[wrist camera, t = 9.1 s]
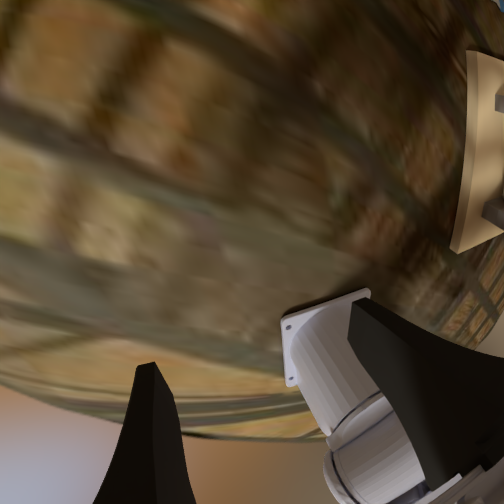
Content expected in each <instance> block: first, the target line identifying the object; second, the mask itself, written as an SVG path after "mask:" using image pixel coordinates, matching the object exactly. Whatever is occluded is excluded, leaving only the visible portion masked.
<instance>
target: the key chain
mask: <svg viewBox="0 0 504 504" xmlns="http://www.w3.org/2000/svg"><path fill="white" fill-rule="evenodd" d="M493 1H494V2H496V3H497V5H498V7H499V9H500V10H501V12H504V2H503V0H493Z"/></svg>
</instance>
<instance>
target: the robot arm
mask: <svg viewBox="0 0 504 504" xmlns="http://www.w3.org/2000/svg"><path fill="white" fill-rule="evenodd" d="M370 296H371V291H370V290H369V289H368V288H364V289H361V290H358V291H356V292H353V293H350V294H347V295H345V296H342V297H339V298H336V299H333V300H331V301H328V302H325V303H322V304H319V305H316V306H313V307H310V308H307V309H304V310H301V311H298V312H295V313H292V314H289V315H286V316H284V317H283V318H282V319H281V332H282V345H283V358H284V371H285V383H286V385H287V387H292V386H295V385H298V387H299V389H300V391H301V393H302V395H303V396H304V398H305V400H306V402H307V404H308V406H309V408H310V410H311V412H312V414H313V415H314V417H315V419H316V421H317V423H318V425H319V427H320V428H321V430H322V431H323V432H324V433H325V434H326V435H327V436H328V437H327V438H326V441H327V443H328V445H329V447H330V449H329V450H328V451H327V452H326V453H325V456H324V464H323V472H324V476H325V480H326V482H327V485H328V487H329V488H330V491H331V492H332V494H333V495H334V497H335V498H336V499H337V501H338V502H339V503H340V504H504V358H501V357H496V356H492V355H488V354H484V353H480V352H477V351H474V350H471V349H468V348H465V347H462V346H460V345H457V344H455V343H452V342H449V341H447V340H445V339H442V338H440V337H438V336H436V335H434V334H432V333H430V332H428V331H426V330H424V329H422V328H420V327H418V326H416V325H414V324H413V323H411V322H409V321H407V320H405V319H404V318H402V317H400V316H398V315H397V314H395V313H393V312H391V311H390V310H388V309H386V308H385V307H383V306H381V305H379V304H378V303H376V302H374V301H372V300H371V299H370ZM288 325H289V326H288ZM93 504H196V501H195V498H194V494H193V491H192V488H191V485H190V482H189V477H188V472H187V467H186V462H185V455H184V449H183V442H182V436H181V429H180V422H179V417H178V413H177V409H176V405H175V401H174V397H173V394H172V392H171V390H170V389H169V387H168V385H167V383H166V381H165V380H164V378H163V376H162V374H161V372H160V370H159V369H158V367H157V365H156V363H155V362H151V363H147V364H142V365H138V366H137V368H136V372H135V377H134V382H133V387H132V391H131V396H130V400H129V404H128V408H127V412H126V415H125V419H124V423H123V427H122V430H121V433H120V436H119V440H118V443H117V447H116V449H115V452H114V455H113V458H112V461H111V463H110V466H109V468H108V471H107V473H106V476H105V478H104V480H103V483H102V485H101V487H100V489H99V492H98V494H97V496H96V498H95V500H94V502H93Z"/></svg>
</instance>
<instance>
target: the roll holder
mask: <svg viewBox="0 0 504 504" xmlns="http://www.w3.org/2000/svg"><path fill="white" fill-rule="evenodd" d="M466 60H467V128H466V144H465V155H464V165H463V174H462V182H461V189H460V196H459V202H458V208H457V214H456V219H455V224H454V229H453V234H452V239H451V243H450V249H451V250H453V251H454V252H455V253H457V254H459V253H461V252H463V251H465V250H467V249H470V248H472V247H474V246H476V245H478V244H480V243H482V242H484V241H486V240H489V239H491V238H493V237H495V236H497V235H499V234H501V233H503V232H504V199H503V197H502V194H503V188H504V61H501V60H499V59H496V58H494V57H491V56H488V55H486V54H483V53H480V52H477V51H469V50H466Z"/></svg>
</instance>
